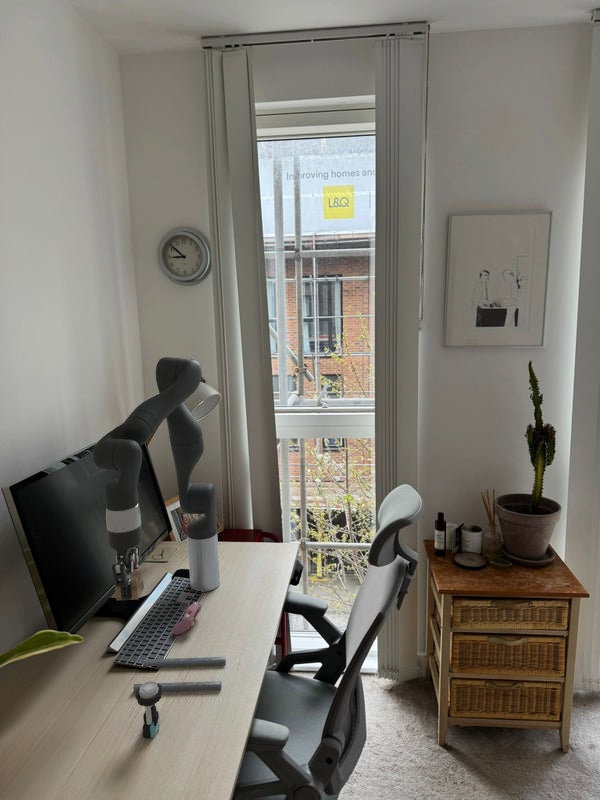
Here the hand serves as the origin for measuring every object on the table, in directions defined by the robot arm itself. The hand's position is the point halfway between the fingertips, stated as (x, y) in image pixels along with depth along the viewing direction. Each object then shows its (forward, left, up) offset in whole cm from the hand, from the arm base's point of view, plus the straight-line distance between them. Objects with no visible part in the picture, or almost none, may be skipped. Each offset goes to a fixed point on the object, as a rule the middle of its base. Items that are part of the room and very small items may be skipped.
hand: (130, 591), depth 125 cm
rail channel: (+2, +11, -21) cm, 24 cm away
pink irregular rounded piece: (-18, +9, -22) cm, 30 cm away
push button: (+17, +8, -22) cm, 29 cm away
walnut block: (0, 0, 0) cm, 0 cm away
